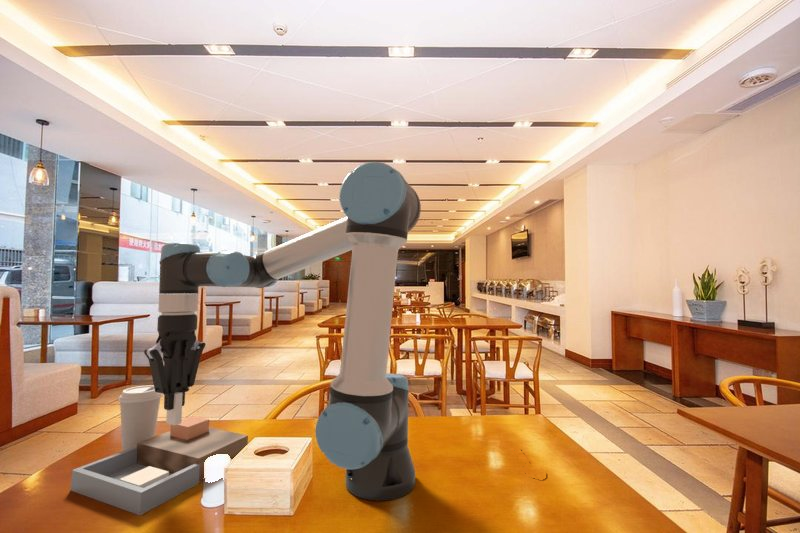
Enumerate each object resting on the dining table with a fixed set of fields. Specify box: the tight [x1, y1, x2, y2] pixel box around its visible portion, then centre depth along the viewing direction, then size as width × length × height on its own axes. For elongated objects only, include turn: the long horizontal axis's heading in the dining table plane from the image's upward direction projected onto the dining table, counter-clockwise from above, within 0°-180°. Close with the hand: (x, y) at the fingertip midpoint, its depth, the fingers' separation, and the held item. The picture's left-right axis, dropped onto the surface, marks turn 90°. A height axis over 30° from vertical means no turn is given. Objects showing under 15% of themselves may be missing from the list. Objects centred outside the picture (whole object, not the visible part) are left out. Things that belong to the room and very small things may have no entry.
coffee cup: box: [117, 384, 164, 452], centre depth 96 cm, size 10×10×15 cm
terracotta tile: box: [169, 415, 210, 440], centre depth 93 cm, size 6×6×3 cm
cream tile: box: [119, 466, 169, 488], centre depth 75 cm, size 6×6×3 cm
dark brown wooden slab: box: [137, 426, 249, 483], centre depth 89 cm, size 20×14×5 cm
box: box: [70, 447, 200, 516], centre depth 77 cm, size 21×12×4 cm, turn 68°
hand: (173, 423), depth 80 cm, fingers closed
